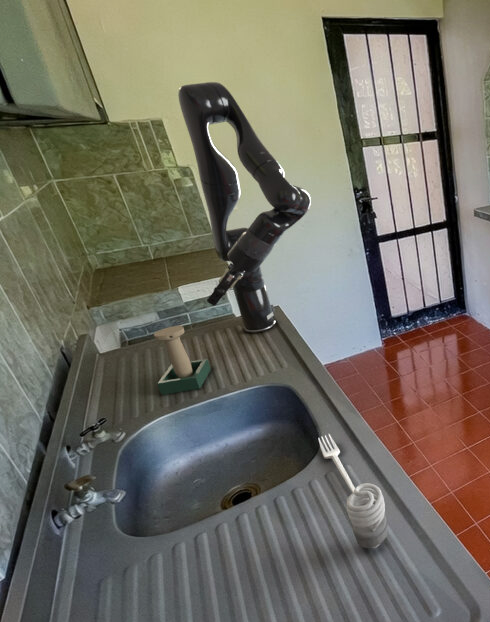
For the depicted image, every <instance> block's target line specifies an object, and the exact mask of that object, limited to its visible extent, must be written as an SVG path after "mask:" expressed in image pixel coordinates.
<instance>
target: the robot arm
mask: <svg viewBox="0 0 490 622" xmlns="http://www.w3.org/2000/svg"><path fill="white" fill-rule="evenodd" d="M177 96H178V102H179V106H180V110H181V113H182V117H183V119H184V122H185V127H186V128H187V132H188V135H189V138H190V141H191V144H192V147H193V152H194V156H195V160H196V165H197V169H198V175H199V180H200V184H201V188H202V192H203V197H204V199H205V203H206V207H207V211H208V215H209V219H210V220H209V221H210V222H209V223H210V227H211V228H210V229H211V234H212V235H211V236H212V241H213V247H214V250H215V253H216V255H217V257H218V259H219V260H220V261H222V262H227V263H229V262H230V263H229V265H227V267H226V268H225V270H224V273H222V275H221V277H220V278H219V280H218V284H217V286H215V287H214V288H213V292H211V294H210V295H209V296H208V298H207V300H206V302H207V303H208V304H210V305H212V306H216V305H217V304H218V303H219V302H220V300H221V299H222V297H225V296H226V294H227V292H228V291H229V290H230V289H232V290H233V293H234V296H235V300H236V304H237V307H238V311H239V313H240V317H241V320H242V324H243V329H244V331H245V332H246V333H249V334H257V333H262V332H267V331H269V330H271V329H272V328H274V327H275V325H276V323H277V322H276V319H275V317H274V316H275V314H276V311H275V306H274V304H271V301H270V298H269V294H268V290H267V288H266V283H265V280H264V275H263V272H262V267H261V265H262V264H263V262H264V261H266V259H267V257H268V256H269V255H270V253H272V251H273V249H274V247H275V246H276V244H277V243H278V242H279V240H280V239H281V238H282V237H283V235H284V233H285V232H287V231H288V230H289V229H290V228H291V227H293V226H294V225H296V223H297V222H299V221H300V220H301V219H302V218H303V217H304V216H305V215H306V214H307V213H308V211H309V209H310V207H311V202H312V201H311V196H310V194H309V193H308V191H306V190H305V189H304V188H302V187H301V186H300V187H299V186H296V185H295V184H291V183H290V182H289V181H288V180H287V179H286V178H285V170H284V169H283V167H282V165H281V164H280V163H279V162H278V161H277V159H276V158H275V157H274V156H273V154H272V153H270V152H271V151H269V150H268V149H267V147H266V146H265V145H264V144H263V142H262V140H261V139H260V138H259V137H258V135H257V133H256V131H255V130H254V129H253V127H252V125H251V123H250V121H249V119H248V118H247V117H246V115H245V113H244V111H243V110H242V109H241V106H240V105H239V104H238V102H237V101H236V99H235V98H234V96H233V95H232V93H231V92H230V90H229V89H228V88H227V87H225V85H223V84H222V83H220V82H216V81H208V82H201V83H191V84H189V83H188V84H184V85H182V86H180V87H179V89H178V95H177ZM225 122H226V123H228V124H229V125H230V126H231V127H232V129H233V130H234V133H235V136H236V149H237V155H238V158H239V161H240V162H241V164H242V166H243V167H244V169H245V170H246V171H247V172H248V174H250V175H251V177H252V178H253V179H254V180H255V181H256V182H257V184H258V186H259V188H260V190H261V192H262V194H263V196H264V197H265V199H266V201H267V202H268V203H269V204H270V206H271V207H273V208H271V209H270V210H265V211H262V212H260V213H259V214H258V215H257V217H255V219H254V220H253V222H252V223H251V224H250V225H249V226H248V227H237V228H233V229H228V230H227V227H228V222H229V219H230V217H231V215H232V214H233V211H234V210H235V208H236V207H237V204H238V202H239V200H240V197H241V195H242V194H241V193H242V192H241V184H240V178H239V174H238V171H237V168H236V167H235V165H234V164H233V163H232V162H231V160H229V158H228V157H227V156H226V155H224V153H222V152H221V150H219V149H218V147H217V145H215V144H214V141H213V140H212V138H211V135H210V132H209V131H210V130H209V126H210V125H216V124H221V123H225Z"/></svg>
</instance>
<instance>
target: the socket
mask: <svg viewBox="0 0 490 622" xmlns="http://www.w3.org/2000/svg"><path fill="white" fill-rule="evenodd" d="M190 363H191V366H192V371H193V376H192V377H185V378H179V377H178V376H177V375H176V373H175V371H174V369H173V366H172V364H170V366H169V367H168V368H167V370H166V371H165V372H164V373H163V375H162V376H161V378H160V379H159V380H158V382H157V383H156V384H157V387H158V389H159V392H160V394H161V395H169V394H176V393H181V392H187V391H194V390H200V389H201V388H202V386H203V384H204V382H205V381H206V379H207V377H208V375H209V374H210V372H211V370H212V369H211V365H210V363H209V359H208V358H203V359H197V360H190Z"/></svg>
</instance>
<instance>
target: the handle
mask: <svg viewBox="0 0 490 622" xmlns="http://www.w3.org/2000/svg"><path fill="white" fill-rule="evenodd" d="M185 332H186V331H185V328H184V326H183V325H173V326H169V327H164V328H162V329H159V330H157V331H155V332H154V333H153V336H154V339H155V340H156V341H159V342H164V344H165V347H166V350H167V353H168V357H169V360H170V363H171V364H172V366H173V369H174V371H175V373H176V375H177V376H178V377H179V378H185V377H192V376H193V371H192V366H191V363H190V361H191V360H190V357H189V356H188V354H187V352H186V349H185V346H184V344H183V342H182V340H181V336H182V335H184V334H185ZM171 364H170V365H171Z"/></svg>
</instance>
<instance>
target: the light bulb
mask: <svg viewBox="0 0 490 622" xmlns="http://www.w3.org/2000/svg"><path fill="white" fill-rule="evenodd" d="M355 496H356V497H355ZM384 498H385V497H384V496H383V492H382V490H381V488H379V486H378V485H375V484H373V483H368V482H366V483H361V484H358V485H357V486H355V490H354V493H352V492H351V494H350V495H349V496H348V498H347V500H346V511H347V514H348V519H349V520H350V522H351V524H352V532H353V535H354V539H355V541H356V543H357V544H358V545H359V547H362V548H364V549H376V548H377V547H379V546H380V545H381V544H382V543H383V542H384V541H385V539H387V536H388V530H389V529H388V519H387V516H386V511H385V508H386V505H385V499H384Z"/></svg>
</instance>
